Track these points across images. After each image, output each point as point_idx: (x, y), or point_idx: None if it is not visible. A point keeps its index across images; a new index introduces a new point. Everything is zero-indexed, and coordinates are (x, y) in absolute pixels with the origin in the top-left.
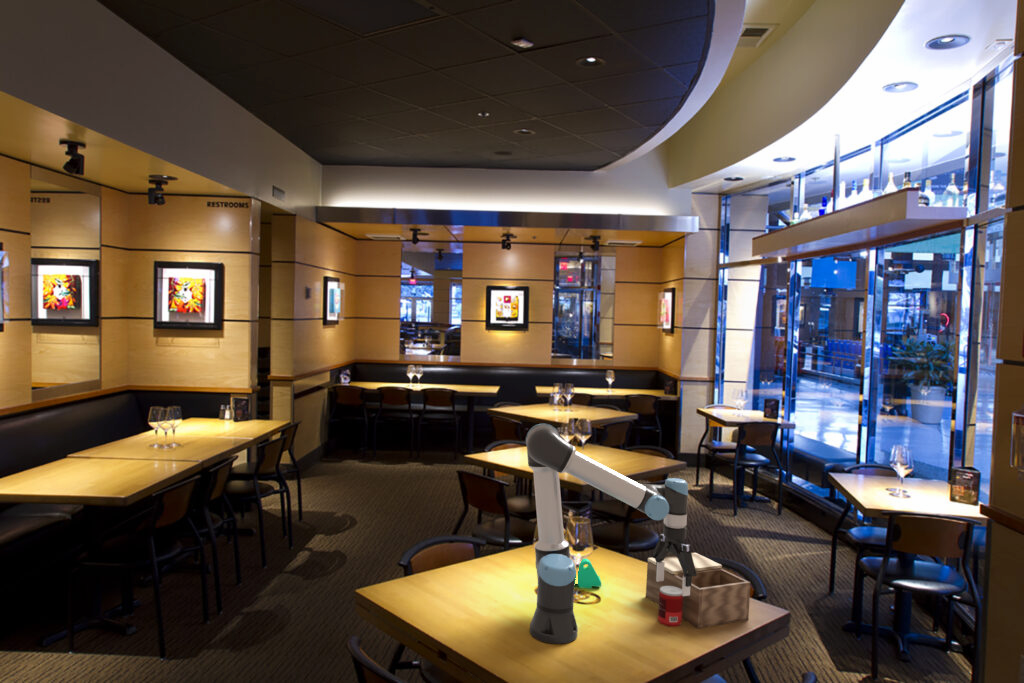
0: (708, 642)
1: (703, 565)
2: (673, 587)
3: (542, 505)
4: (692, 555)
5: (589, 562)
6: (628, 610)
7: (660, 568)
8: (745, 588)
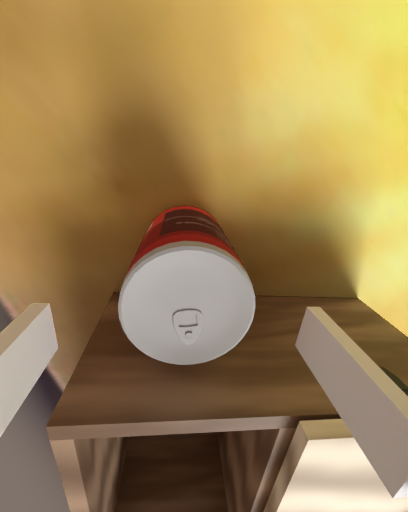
0: (11, 259)
1: None
2: (218, 345)
3: None
4: None
5: None
6: (325, 170)
7: (362, 400)
8: None
